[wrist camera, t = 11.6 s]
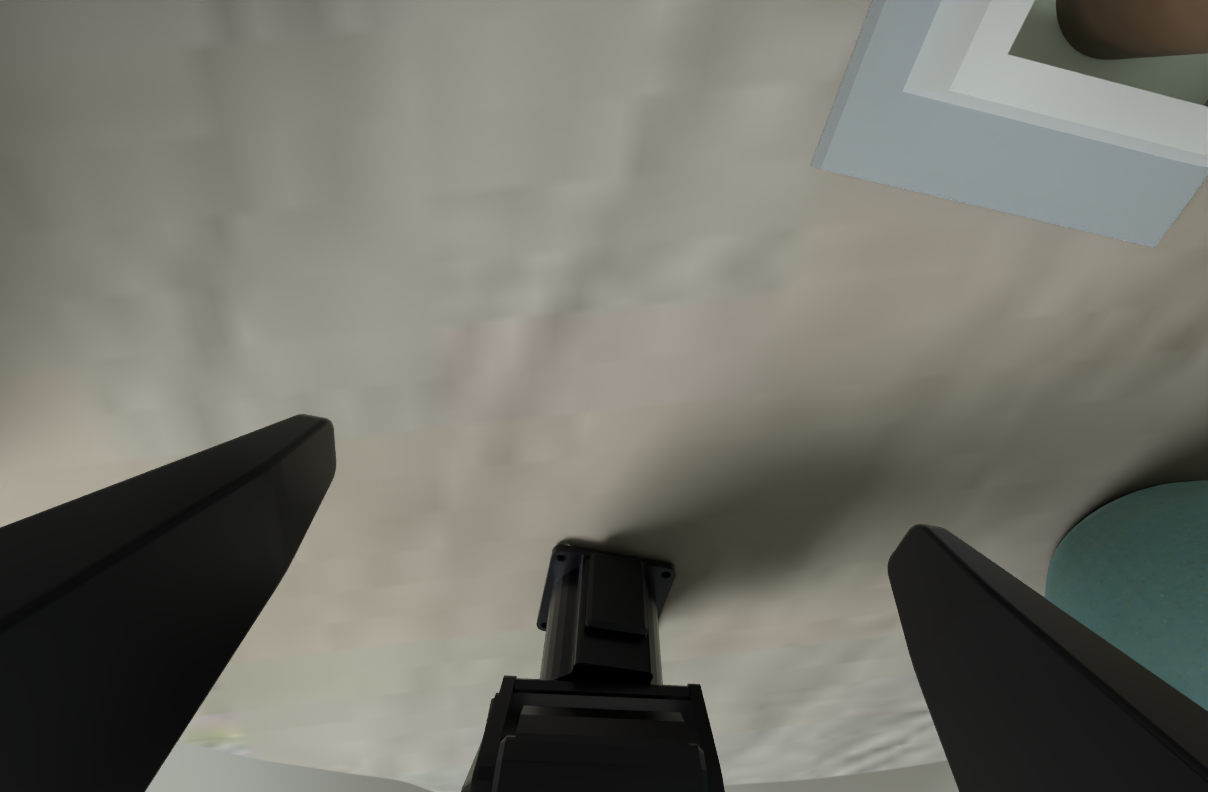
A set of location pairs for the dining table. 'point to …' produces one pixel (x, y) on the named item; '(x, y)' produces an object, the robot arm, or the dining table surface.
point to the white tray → (1019, 118)
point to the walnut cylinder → (1134, 27)
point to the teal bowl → (1143, 580)
